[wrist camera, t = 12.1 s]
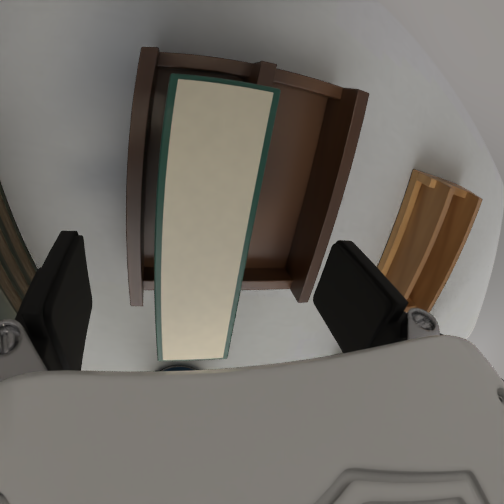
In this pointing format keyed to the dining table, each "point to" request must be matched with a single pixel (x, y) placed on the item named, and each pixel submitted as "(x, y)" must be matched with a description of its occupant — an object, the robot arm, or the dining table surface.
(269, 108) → the book
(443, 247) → the stand
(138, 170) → the rack
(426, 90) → the dining table surface
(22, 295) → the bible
